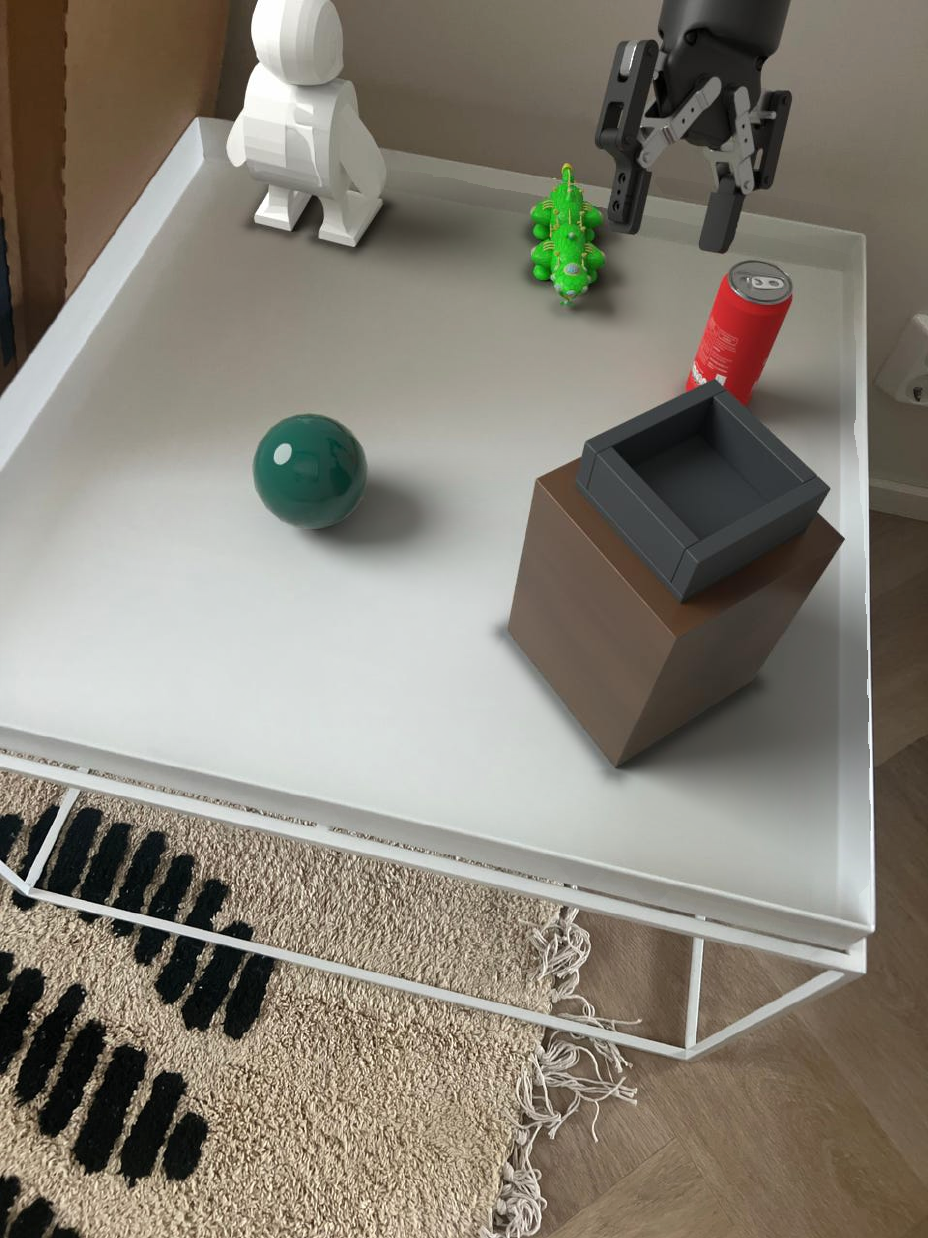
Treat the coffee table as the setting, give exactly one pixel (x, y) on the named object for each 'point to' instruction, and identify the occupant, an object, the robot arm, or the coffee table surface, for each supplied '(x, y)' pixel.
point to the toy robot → (306, 124)
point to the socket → (698, 488)
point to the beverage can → (742, 327)
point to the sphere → (310, 471)
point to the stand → (645, 620)
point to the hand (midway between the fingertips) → (669, 242)
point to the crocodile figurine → (566, 239)
